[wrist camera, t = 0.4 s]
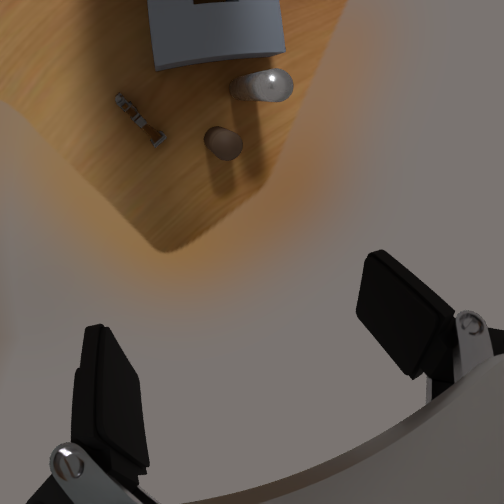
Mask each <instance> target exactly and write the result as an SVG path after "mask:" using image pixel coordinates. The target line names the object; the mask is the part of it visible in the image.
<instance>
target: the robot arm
mask: <svg viewBox="0 0 504 504" xmlns="http://www.w3.org/2000/svg"><path fill="white" fill-rule="evenodd" d="M454 313H455V310H453V308H451V307H450V306H449V305H448V304H447V303H446V302H445V301H444V300H443V299H441V298H440V297H439V296H438V295H437V294H436V293H435V292H434V291H433V290H431V289H430V288H429V287H428V286H427V285H426V284H424V283H423V282H422V281H421V280H419V278H417V277H416V276H415V275H414V274H413V273H412V272H410V271H409V270H408V269H407V268H405V267H404V266H403V265H402V264H401V263H399V262H398V261H397V260H396V259H394V258H393V257H392V256H391V255H390V254H388V253H387V252H386V251H384V250H378V251H374V252H371V253H369V254H368V256H367V258H366V259H365V262H364V268H363V274H362V280H361V285H360V291H359V296H358V301H357V306H356V314H357V317H358V318H359V320H360V321H361V322H362V323H363V324H364V326H365V327H366V328H367V329H368V330H369V331H370V333H371V334H372V335H373V336H374V337H375V339H376V340H377V341H378V342H379V344H380V345H381V346H382V347H383V348H384V350H385V351H386V352H387V353H388V354H389V356H390V357H391V358H392V359H393V361H394V362H395V363H396V364H397V365H398V367H399V368H400V369H401V370H402V372H403V373H404V374H405V375H409V376H410V378H411V379H412V380H414V379H415V378H417V377H418V376H420V375H421V374H422V373H423V372H424V373H425V374H426V375H427V387H426V405H425V406H424V407H422V408H421V409H419V410H418V411H416V412H415V413H413V414H412V415H410V416H409V417H407V418H406V419H404V420H403V421H401V422H400V423H398V424H397V425H395V426H393V427H392V428H390V429H388V430H386V431H385V432H383V433H381V434H380V435H378V436H376V437H374V438H373V439H371V440H369V441H367V442H365V443H363V444H361V445H360V446H358V447H356V448H354V449H352V450H350V451H348V452H346V453H344V454H341V455H339V456H337V457H335V458H333V459H331V460H329V461H326V462H324V463H322V464H319V465H317V466H315V467H312V468H310V469H307V470H305V471H302V472H300V473H297V474H294V475H292V476H289V477H286V478H283V479H280V480H277V481H275V482H271V483H268V484H265V485H262V486H258V487H255V488H252V489H248V490H245V491H241V492H236V493H232V494H228V495H224V496H219V497H215V498H210V499H205V500H200V501H195V502H190V503H183V504H504V330H499V329H493V328H488V327H487V325H486V322H485V321H484V319H483V318H482V317H481V316H480V315H479V314H477V313H475V312H473V311H462V312H460V313H458V314H457V317H456V318H454V317H453V315H454ZM71 419H72V420H71V443H70V442H66V443H63V444H60V445H58V446H57V447H56V448H55V449H54V450H53V452H52V454H51V456H50V463H49V465H50V470H51V472H52V474H51V475H50V477H49V478H48V479H47V480H46V481H45V482H44V483H43V484H42V486H41V487H40V488H39V489H38V490H37V491H36V492H35V494H34V495H33V496H32V497H31V498H30V499H29V500H28V501H27V503H26V504H161V503H159V502H158V501H157V500H155V499H154V498H153V497H152V496H150V495H149V494H148V493H147V492H146V491H145V490H143V489H142V488H141V487H140V486H139V480H138V475H146V474H147V471H146V467H149V466H150V462H149V456H148V450H147V443H146V436H145V429H144V421H143V412H142V403H141V392H140V382H139V378H138V375H137V373H136V372H135V370H134V368H133V367H132V365H131V364H130V362H129V361H128V359H127V358H126V356H125V354H124V352H123V351H122V349H121V347H120V346H119V344H118V342H117V340H116V339H115V337H114V335H113V333H112V331H111V330H110V328H109V327H104V325H103V324H97V325H92V326H88V327H86V328H85V333H84V340H83V346H82V353H81V363H80V368H77V370H76V372H75V379H74V388H73V401H72V418H71Z"/></svg>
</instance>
